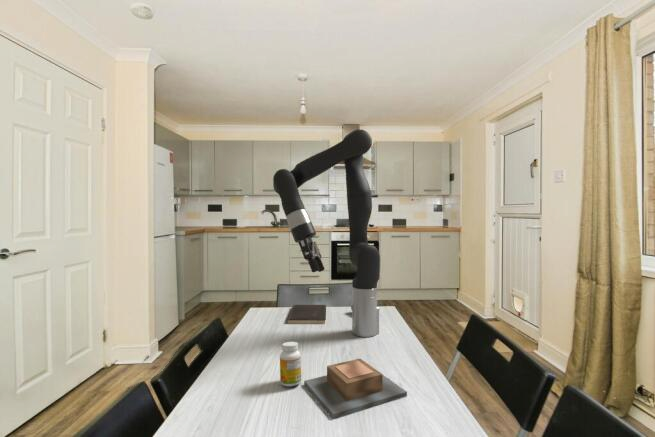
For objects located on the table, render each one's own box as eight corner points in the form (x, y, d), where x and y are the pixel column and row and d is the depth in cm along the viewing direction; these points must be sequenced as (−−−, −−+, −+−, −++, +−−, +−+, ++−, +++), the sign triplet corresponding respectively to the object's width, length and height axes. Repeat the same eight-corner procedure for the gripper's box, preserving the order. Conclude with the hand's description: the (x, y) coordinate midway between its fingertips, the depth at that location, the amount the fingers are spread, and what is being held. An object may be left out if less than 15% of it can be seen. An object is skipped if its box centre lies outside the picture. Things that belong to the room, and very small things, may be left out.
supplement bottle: (279, 380, 86) (278, 342, 87) (299, 377, 87) (298, 340, 88) (281, 388, 80) (280, 347, 82) (303, 385, 82) (301, 345, 83)
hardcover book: (326, 309, 155) (326, 304, 155) (325, 325, 132) (325, 319, 132) (292, 309, 155) (292, 304, 155) (286, 325, 132) (286, 319, 132)
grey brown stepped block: (369, 368, 92) (369, 350, 92) (406, 395, 78) (406, 374, 78) (304, 384, 83) (304, 364, 83) (333, 418, 69) (333, 394, 69)
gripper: (305, 218, 101) (325, 266, 98) (315, 223, 115) (333, 266, 112) (284, 228, 102) (302, 276, 99) (296, 232, 116) (313, 274, 113)
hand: (319, 271), depth 105 cm, fingers open, 8 cm apart
